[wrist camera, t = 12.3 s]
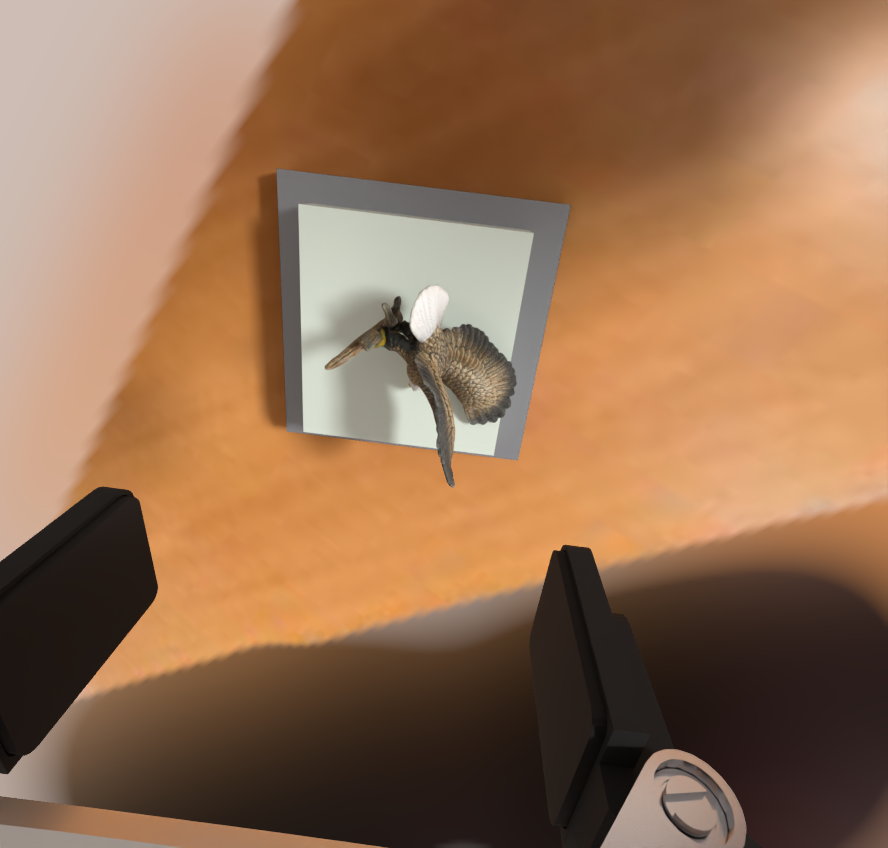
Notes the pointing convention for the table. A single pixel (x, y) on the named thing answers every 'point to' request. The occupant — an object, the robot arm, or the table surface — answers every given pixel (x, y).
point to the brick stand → (407, 300)
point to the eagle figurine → (442, 365)
